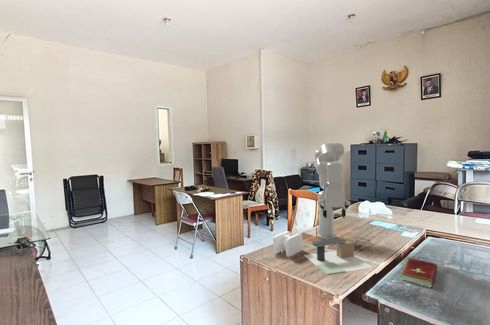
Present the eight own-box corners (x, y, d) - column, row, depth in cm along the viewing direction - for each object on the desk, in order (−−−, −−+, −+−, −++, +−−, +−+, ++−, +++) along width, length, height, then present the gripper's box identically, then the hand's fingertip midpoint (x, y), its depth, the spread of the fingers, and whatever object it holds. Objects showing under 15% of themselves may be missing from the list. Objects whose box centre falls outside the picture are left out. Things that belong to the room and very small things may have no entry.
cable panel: (303, 257, 151) (303, 241, 151) (344, 252, 158) (344, 236, 157) (327, 277, 128) (327, 258, 128) (373, 270, 135) (373, 252, 134)
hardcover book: (437, 271, 133) (437, 263, 133) (432, 289, 117) (432, 280, 117) (408, 265, 141) (409, 257, 140) (401, 281, 124) (401, 272, 124)
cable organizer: (287, 260, 149) (287, 239, 148) (272, 255, 156) (272, 235, 155) (302, 252, 159) (302, 233, 158) (288, 248, 167) (288, 229, 166)
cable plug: (315, 258, 147) (315, 246, 146) (322, 257, 148) (322, 245, 147) (319, 261, 143) (319, 248, 142) (326, 260, 144) (326, 247, 143)
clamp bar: (312, 244, 145) (312, 241, 145) (341, 241, 150) (341, 237, 150) (315, 246, 142) (315, 243, 142) (345, 243, 147) (345, 239, 147)
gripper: (319, 186, 141) (319, 219, 142) (352, 186, 141) (352, 218, 142) (316, 185, 149) (316, 215, 150) (347, 184, 148) (347, 215, 149)
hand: (334, 217), depth 146 cm, fingers open, 9 cm apart
